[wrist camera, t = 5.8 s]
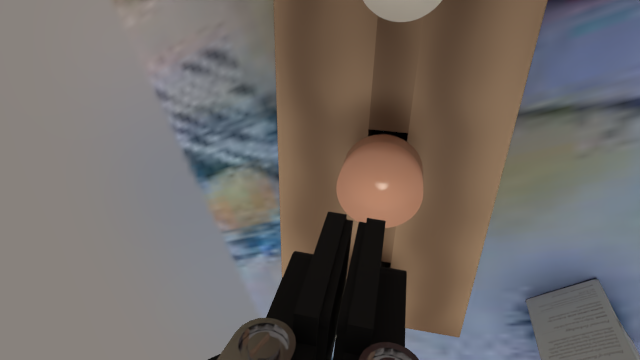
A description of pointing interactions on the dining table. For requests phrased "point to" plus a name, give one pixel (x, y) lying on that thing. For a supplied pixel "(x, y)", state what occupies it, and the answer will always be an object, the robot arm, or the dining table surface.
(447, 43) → the tan flat board
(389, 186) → the terracotta knob
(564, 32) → the dining table surface
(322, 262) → the robot arm
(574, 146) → the dining table surface
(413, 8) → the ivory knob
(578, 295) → the skincare box
